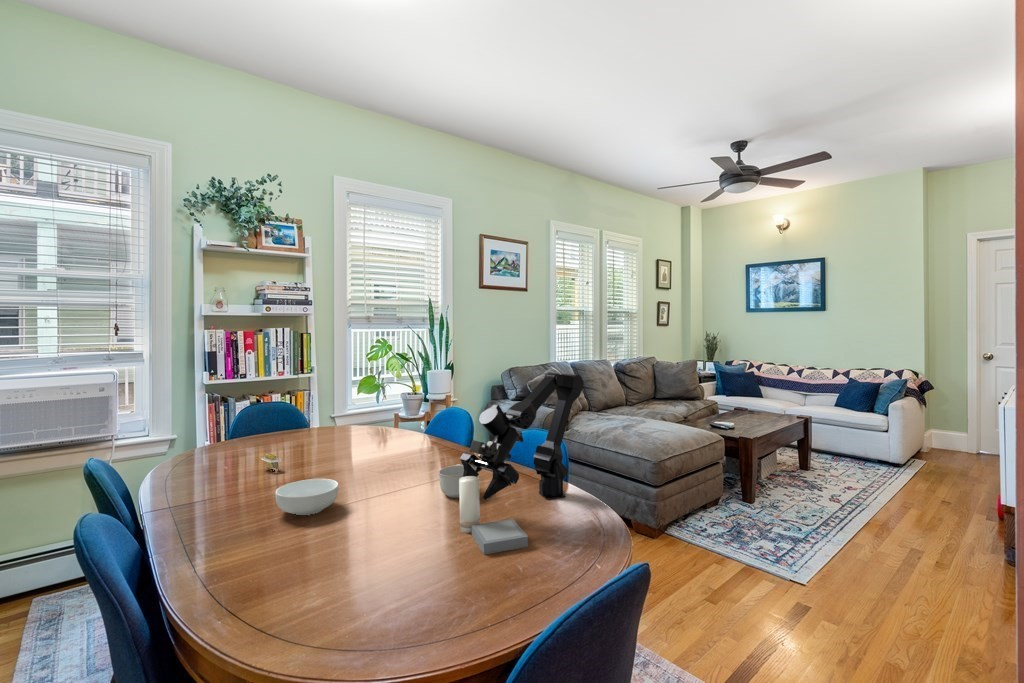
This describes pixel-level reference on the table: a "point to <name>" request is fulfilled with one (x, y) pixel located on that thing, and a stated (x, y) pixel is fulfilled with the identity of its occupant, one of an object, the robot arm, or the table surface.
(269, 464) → the yellow and grey piece
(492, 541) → the base
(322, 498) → the cereal bowl
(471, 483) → the white cylinder
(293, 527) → the table surface
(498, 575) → the table surface
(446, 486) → the teacup
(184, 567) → the table surface
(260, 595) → the table surface
